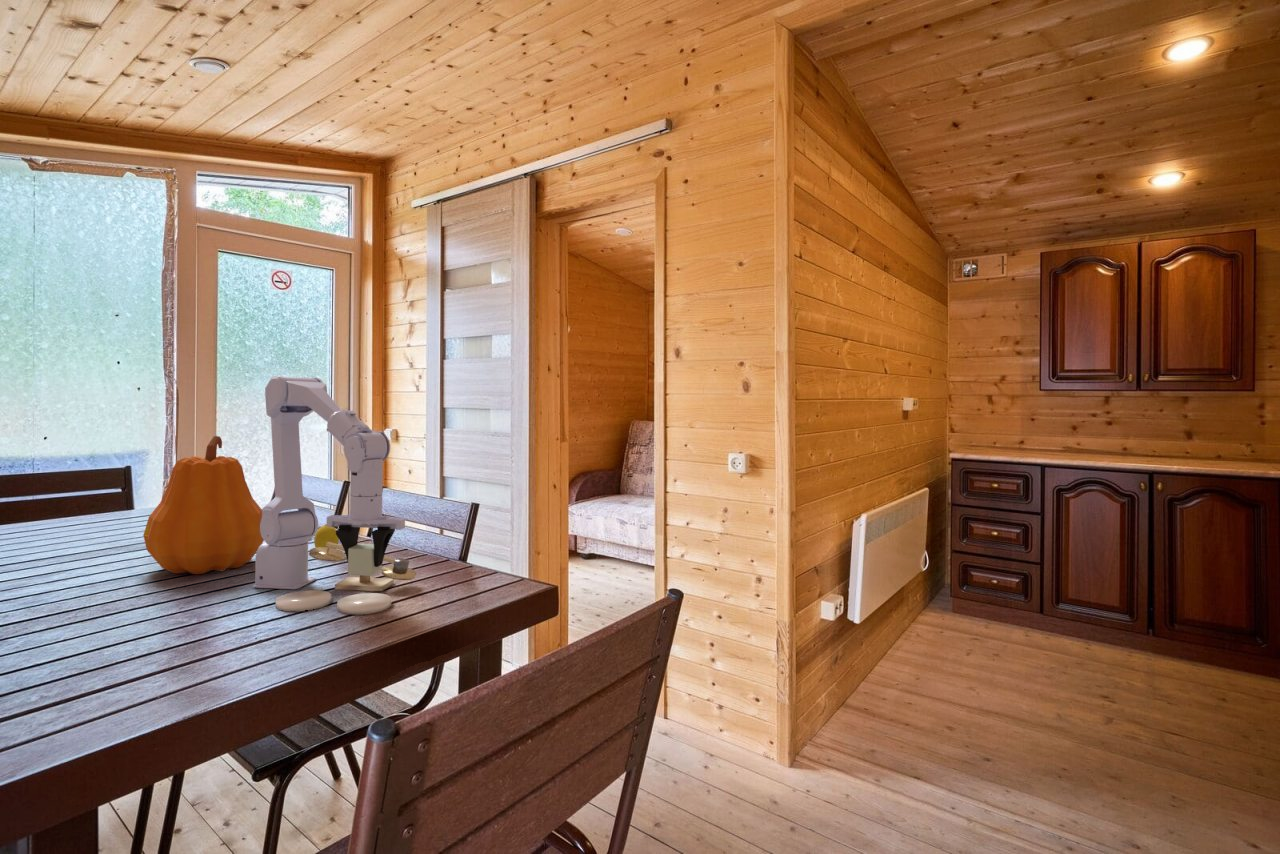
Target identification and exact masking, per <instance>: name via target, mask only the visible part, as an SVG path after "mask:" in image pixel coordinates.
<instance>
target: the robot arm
mask: <svg viewBox="0 0 1280 854" xmlns="http://www.w3.org/2000/svg"><path fill="white" fill-rule="evenodd" d="M327 388H328V387H327V384H326V383H325V382H323V380H322V379H321V378H319V377H297V376H294V377H293V376H281V375H274V376H273V377H271V378H270V379H269V381H268V383H267V384H266V386H265V388H264V394H265V409H266V416H268V417H270V425H271V427H270V429H271V443H272V447H271V448H272V466H273V481H274V498H273V499H272V500H271V501H269V502H268V503H267V504H266V505H265V506H263V507H262V508H261V509H262V519H261V523H260V533H261V536H262V538H263V539H264V541H263V543H262V544H261V545H260V546H259V548H258V550H257V552H256V553H255V563H254V564H255V568H254V569H255V571H254V573H255V575H254V578H255V579H254V580H255V581H254V584H253V585H252V587H253V588H260V589H263V588H264V589H281V590H298V589H300V588H302V587H304V586H307V585H308V584H310V583H312V582H314V581H316V580H317V577H316V576H309V542H312V539H313V537H315V534H316V532H317V530H318V529H319V520H318V519H319V518H318V516H317V513H316V511H315V504H314V502H312V501H311V500H309V499H308V498H307V497H305V496H304V493H303V492H304V491H303V475H302V458H301V443H300V442H301V440H300V422H301V421H302V420H303V418H304V417H307V416H309V415H310V414H311V413H313V412H314V413H316V414H317V415H318V416H319V417H321V418H322V419H323V420H324V421H326V422H327V424H326V428H327V431H328V432H329V433H330V434H331V435H332V436H333V437H334V439H335V440H337V441H338V443H340V444H341V445H342V446H343V453H344V456H345V460H346V462H347V470H348V472H350V480H349V481H350V489H349V491H350V493H349V494H350V496H349V514H346V515H345V514H344V515H343V514H340V515H339V514H338V515H337V514H331V515H329V516H326V524H327V527H338V528H337V529H336V535H337V537H338V538H339V542H340V545H342V546H343V548H344V551H343V552H344V553H345V557H346V561H347V562H348V549H349V548H351V547H353V546H355V545H358V544H359V543H358V540H359V536H360V530H361V528H363V529H364V528H366V529H367V528H370V529H375V530H372V531H371V537H372V542H373V543H372V544H374V567H378V566H380V565H383V564H384V563H383V562H384V561H383V558H384V556H385V554H386V550H387V547H388V545H389V543H390V540H391V538H392V537H393V536H394V533H395V532H396V531H400V530H404V529H406V518H405V517H395V516H394V517H393V516H388V515H383V483H384V482H383V481H384V480H383V479H384V478H383V475H384V474H383V472H384V461H386V459H387V458H388V457H389V454H390V449H391V444H390V440H389V438H388V436H387V434H386V433H385V432H384V431H380V430H377V431H376V430H373V429H371V428H370V427H369V426H368V424H365V423H364V421H362V420H361V419H360V418H359V417H358V416H357V412H355V411H354V410H349V409H342V408H340V405H338V404H337V403H336V401H335V400H333V398H332V397H331V395H329V394H328V389H327Z"/></svg>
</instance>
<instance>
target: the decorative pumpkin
mask: <svg viewBox="0 0 1280 854" xmlns="http://www.w3.org/2000/svg"><path fill="white" fill-rule="evenodd" d="M222 446H223V441H222V437H221V436H219V435H213V437H212V438H211V439H210V440H209V442H208V444H207V445H206V451H205V457H204V458H202V457H200V456H197V455H196V456H190V457H183V458H181V459H179V460H177V461H176V463H175V464H174V466H173V467H172V469H171V473H170V476H169V477H170V478H169V481H168V484H167V486H166V489H165V492H164V493H163V496H162V497H161V500H160V502H159V503H158V505H157V506H156V508H154V510H153V511H152V512H151V513H150V514H149V516H148V519H147V522H146V525H145V530H144V532H143V540H144V544H145V547H146V548H145V549H146V551H147V552H148V553H149V555H150V556H151V557H152V558H153V559H154V560H155V562H156V563H157V564H158V565H160V567H161V568H163V569H164V570H166V571H169V572H171V573H173V574H186V573H185V572H187V573H189V574H192V575H203V574H205V573H208V572H211V571H213V570H214V571H216V570H217V572H224V571H226V569H236V568H237V569H238V568H240V567H242V566H244V565H245V564H247V563H248V562H250V561H252V559H253V557H254V556H256V553H257V550H258V548H259V546H260V545H261V544H262V543H264V542H265V541H264V539H263V538H262V536H261V533H260V523H261V519H262V509H263V508H261V507H260V506H259V504H258V503H257V502H256V500H255V499H254V498H253V496H252V493H251V491H250V488H249V486H248V483H247V482H246V478H245V472H244V469H243V466H242V465H241V463H240V461H239V460H238V459H237V458H235V457H232V456H227V457H226V456H223V455H218V456H217V452H218V451H217V449H222V448H223V447H222Z"/></svg>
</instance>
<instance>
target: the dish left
mask: <svg viewBox="0 0 1280 854" xmlns="http://www.w3.org/2000/svg"><path fill="white" fill-rule="evenodd" d="M331 603H332V594H331V593H330V592H328V591H326V590H317V589H315V590H313V589H312V590H309V589H308V590H299V591H293V592H289V593H285V594H282V595H280V596H278V597H277V598H275V608H276V609H277V610H279V611H282V610H283V612H291V611H296V612H306V611H305V610H308V611H312V610H313V609H314V610H317V609H321V608H324V607H327V606H328V605H330V604H331Z"/></svg>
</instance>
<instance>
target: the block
mask: <svg viewBox="0 0 1280 854" xmlns="http://www.w3.org/2000/svg"><path fill="white" fill-rule="evenodd" d="M382 565H383V564H382ZM382 565H380V566H378V567H374V543H357V545H355V546H353V547H351V548H349V549H348V561H347V575H348V576H360V575H362V576H370V577H372V576H374V575H376V573H377V574H378V573H379V572H381V571H382V568H383V566H382Z"/></svg>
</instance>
